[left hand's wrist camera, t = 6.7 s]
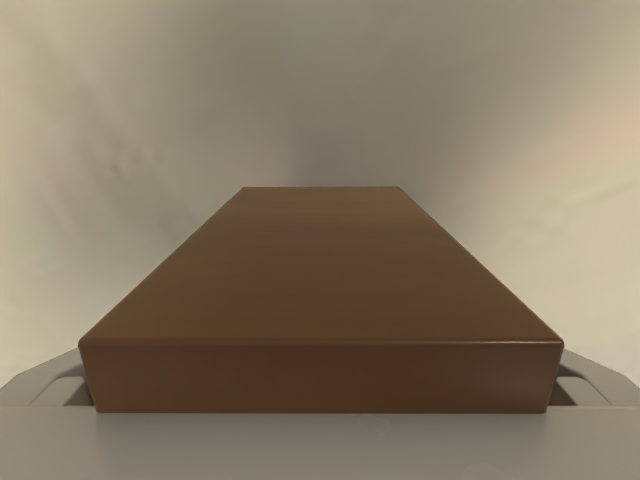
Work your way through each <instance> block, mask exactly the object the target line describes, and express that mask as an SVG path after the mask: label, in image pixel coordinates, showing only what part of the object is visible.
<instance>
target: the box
mask: <svg viewBox="0 0 640 480" xmlns="http://www.w3.org/2000/svg"><path fill="white" fill-rule="evenodd" d="M78 348H79V351H80V355H81V359H82V362H83V366H84V369H85V373H86V376H87V380H88V383H89V387H90V390H91V394H92V398H93V401H94V405H95V408H96V412H98V413H288V414H544V413H546V410H547V407H548V403H549V400H550V396H551V392H552V389H553V385H554V382H555V378H556V375H557V371H558V367H559V364H560V360H561V357H562V353H563V350H564V342H563V340H562V338H561V337H559V336H558V335H557V334H556V333H555V332H554V331H553V330H552V329H551V328H550V327H549V326H548V325H547V324H545V323H544V322H543V321H542V320H541V319H540V318H539V317H538V316H537V315H536V314H535V313H534V312H533V311H532V310H530V309H529V308H528V307H527V306H526V305H525V304H524V303H523V302H522V301H521V300H520V299H519V298H518V297H516V296H515V295H514V294H513V293H512V292H511V291H510V290H509V289H508V288H507V287H506V286H505V285H504V284H503V283H501V282H500V281H499V280H498V279H497V278H496V277H495V276H494V275H493V274H492V273H491V272H490V271H489V270H487V269H486V268H485V267H484V266H483V265H482V264H481V263H480V262H479V261H478V260H477V259H476V258H475V257H473V256H472V255H471V254H470V253H469V252H468V251H467V250H466V249H465V248H464V247H463V246H462V245H461V244H460V243H458V242H457V241H456V240H455V239H454V238H453V237H452V236H451V235H450V234H449V233H448V232H447V231H446V230H444V229H443V228H442V227H441V226H440V225H439V224H438V223H437V222H436V221H435V220H434V219H433V218H432V217H431V216H429V215H428V214H427V213H426V212H425V211H424V210H423V209H422V208H421V207H420V206H419V205H418V204H417V203H415V202H414V201H413V200H412V199H411V198H410V197H409V196H408V195H407V194H406V193H405V192H404V191H403V190H402V189H400V188H399V187H243V188H242V189H241V190H240V191H239V192H238V193H237V194H235V195H234V196H233V197H232V198H231V199H230V200H229V201H228V202H227V203H226V204H225V205H224V206H223V207H221V208H220V209H219V210H218V211H217V212H216V213H215V214H214V215H213V216H212V217H211V218H210V219H209V220H208V221H206V222H205V223H204V224H203V225H202V226H201V227H200V228H199V229H198V230H197V231H196V232H195V233H194V234H192V235H191V236H190V237H189V238H188V239H187V240H186V241H185V242H184V243H183V244H182V245H181V246H180V247H179V248H177V249H176V250H175V251H174V252H173V253H172V254H171V255H170V256H169V257H168V258H167V259H166V260H165V261H164V262H162V263H161V264H160V265H159V266H158V267H157V268H156V269H155V270H154V271H153V272H152V273H151V274H150V275H148V276H147V277H146V278H145V279H144V280H143V281H142V282H141V283H140V284H139V285H138V286H137V287H136V288H135V289H133V290H132V291H131V292H130V293H129V294H128V295H127V296H126V297H125V298H124V299H123V300H122V301H121V302H120V303H118V304H117V305H116V306H115V307H114V308H113V309H112V310H111V311H110V312H109V313H108V314H107V315H106V316H104V317H103V318H102V319H101V320H100V321H99V322H98V323H97V324H96V325H95V326H94V327H93V328H92V329H91V330H89V331H88V332H87V333H86V334H85V335H84V336H83V337H82V338H81V339H80V341H79V343H78Z"/></svg>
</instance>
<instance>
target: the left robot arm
mask: <svg viewBox="0 0 640 480" xmlns="http://www.w3.org/2000/svg"><path fill="white" fill-rule="evenodd" d="M0 480H640V389H639V388H638V387H637V386H636V385H635V384H634V383H633V382H631V381H630V380H629V379H628V378H627V377H626V376H624V375H622V374H620V373H618V372H615V371H613V370H611V369H609V368H607V367H604V366H602V365H600V364H598V363H595V362H593V361H591V360H589V359H587V358H584V357H582V356H580V355H578V354H575V353H573V352H571V351H569V350H567V349H564V350H563V353H562V357H561V360H560V364H559V367H558V371H557V375H556V378H555V382H554V385H553V389H552V392H551V396H550V400H549V403H548V407H547V410H546V413H544V414H288V413H98V412H96V408H95V405H94V401H93V398H92V394H91V390H90V387H89V383H88V380H87V376H86V373H85V369H84V366H83V362H82V359H81V355H80V351H79V348H76V349H74V350H71V351H69V352H67V353H65V354H62V355H60V356H58V357H56V358H54V359H51V360H49V361H47V362H45V363H42V364H40V365H38V366H36V367H34V368H31V369H29V370H27V371H25V372H22V373H20V374H18V375H16V376H15V377H14V378H13V379H11V380H10V381H9V382H8V383H7V384H6V385H5V386H3V387H2V388H1V389H0Z"/></svg>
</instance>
